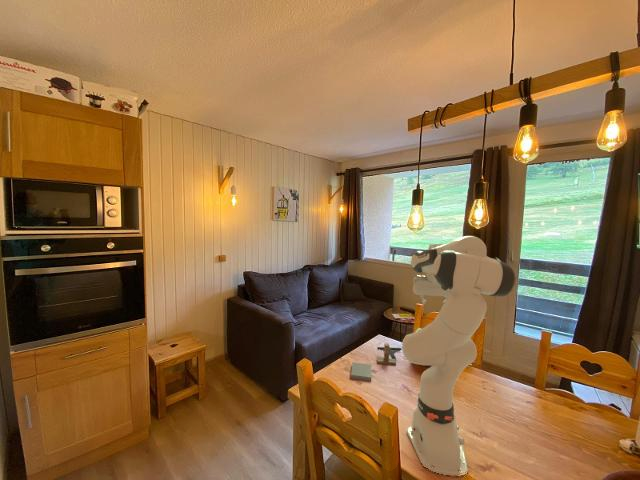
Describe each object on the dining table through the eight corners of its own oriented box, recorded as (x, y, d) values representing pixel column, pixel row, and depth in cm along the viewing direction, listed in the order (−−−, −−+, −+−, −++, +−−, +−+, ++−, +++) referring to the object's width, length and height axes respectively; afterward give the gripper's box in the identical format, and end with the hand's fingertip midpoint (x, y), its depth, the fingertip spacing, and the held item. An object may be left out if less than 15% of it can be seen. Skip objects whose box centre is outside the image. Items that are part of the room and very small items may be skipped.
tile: (370, 368, 142) (371, 382, 130) (352, 366, 144) (350, 379, 132) (371, 364, 142) (371, 377, 130) (352, 362, 144) (351, 374, 132)
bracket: (381, 361, 150) (382, 356, 150) (377, 349, 165) (377, 344, 165) (407, 363, 150) (407, 358, 149) (400, 350, 164) (400, 345, 164)
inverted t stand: (395, 365, 146) (396, 346, 145) (377, 363, 147) (378, 345, 146) (394, 361, 150) (395, 343, 149) (376, 359, 151) (377, 342, 150)
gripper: (414, 276, 126) (413, 304, 127) (460, 279, 123) (458, 307, 124) (412, 274, 132) (410, 301, 133) (455, 276, 129) (453, 303, 130)
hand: (434, 304), depth 129 cm, fingers open, 8 cm apart
